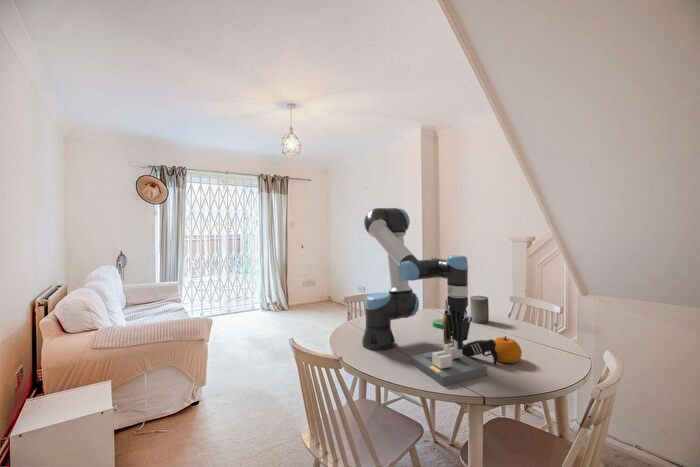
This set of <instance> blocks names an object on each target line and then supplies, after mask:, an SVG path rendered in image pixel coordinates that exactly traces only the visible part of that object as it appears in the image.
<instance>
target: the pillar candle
mask: <svg viewBox="0 0 700 467" xmlns="http://www.w3.org/2000/svg"><path fill="white" fill-rule="evenodd" d="M469 299H470V302H469V303H470V304H469V305H470V317H471V318H472V321H471V322H472V323H475V324H481V325H482V324H489V321H490V318H489V316H490V315H489V309H490V308H489V297H487V296H483V295H471V296H470V298H469Z"/></svg>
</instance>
